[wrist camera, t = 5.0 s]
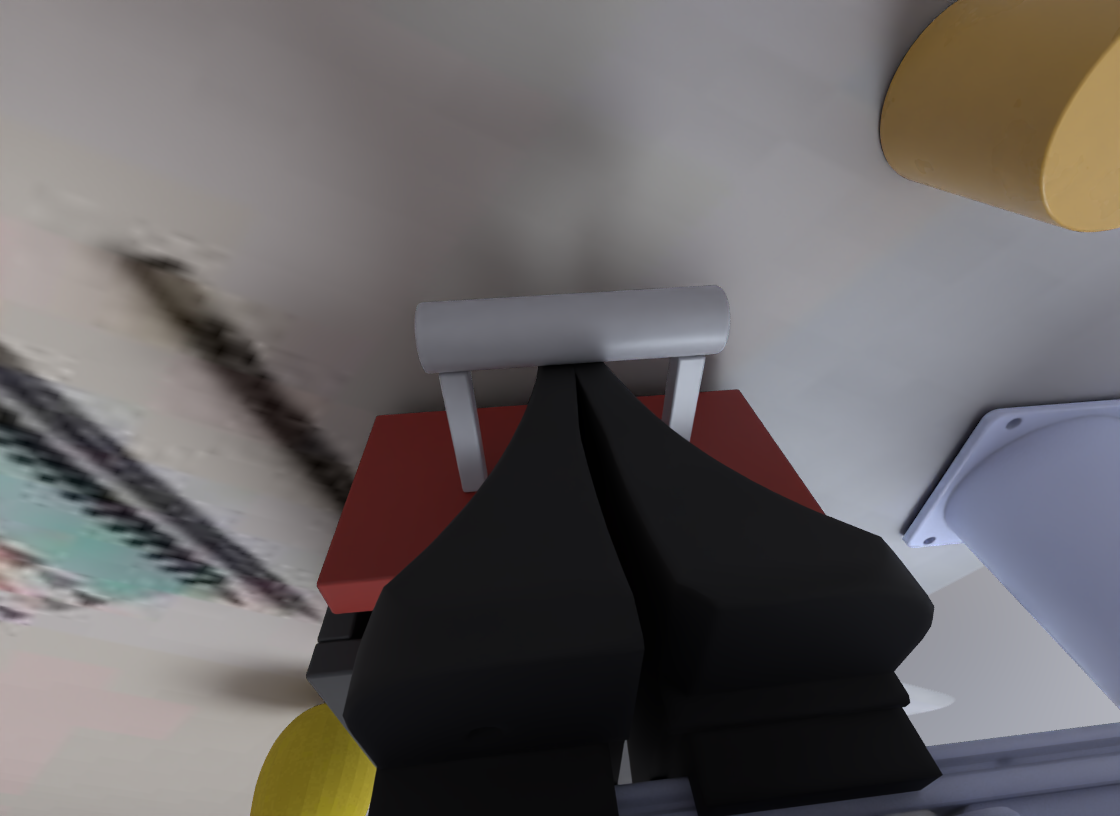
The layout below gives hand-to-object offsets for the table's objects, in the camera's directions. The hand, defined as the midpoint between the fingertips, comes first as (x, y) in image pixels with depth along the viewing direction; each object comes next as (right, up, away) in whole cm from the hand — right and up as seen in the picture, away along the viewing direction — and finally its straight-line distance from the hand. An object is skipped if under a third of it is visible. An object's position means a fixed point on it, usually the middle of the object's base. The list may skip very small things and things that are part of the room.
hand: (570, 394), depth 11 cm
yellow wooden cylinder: (+10, +7, +1) cm, 12 cm away
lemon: (-13, -17, +16) cm, 26 cm away
